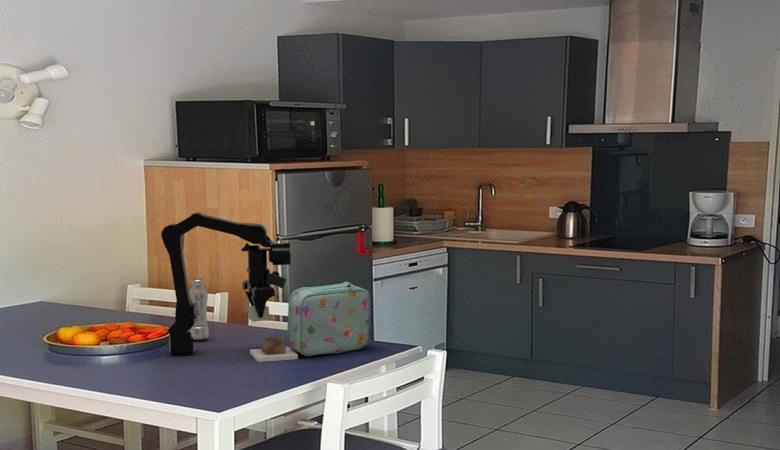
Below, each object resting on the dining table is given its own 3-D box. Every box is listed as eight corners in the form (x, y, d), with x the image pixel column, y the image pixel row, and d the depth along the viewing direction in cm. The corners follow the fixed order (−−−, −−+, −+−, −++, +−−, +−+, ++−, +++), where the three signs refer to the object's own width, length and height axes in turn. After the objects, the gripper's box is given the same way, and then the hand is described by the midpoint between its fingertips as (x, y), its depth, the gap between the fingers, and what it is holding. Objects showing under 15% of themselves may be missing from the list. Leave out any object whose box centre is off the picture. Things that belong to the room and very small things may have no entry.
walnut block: (265, 355, 274) (265, 341, 274) (261, 350, 280) (261, 337, 279) (285, 353, 276) (285, 340, 276) (281, 349, 282) (281, 336, 281)
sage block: (253, 321, 279) (252, 308, 278) (248, 318, 283) (248, 305, 283) (269, 320, 281) (268, 307, 280) (264, 317, 285) (264, 304, 285)
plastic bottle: (206, 342, 298) (205, 280, 296) (185, 342, 298) (184, 280, 296) (210, 338, 304) (210, 278, 302) (190, 337, 304) (189, 277, 303)
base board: (258, 362, 270) (258, 358, 270) (249, 353, 282) (249, 349, 282) (297, 359, 274) (297, 355, 274) (288, 350, 286) (288, 346, 286)
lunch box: (356, 343, 297) (356, 277, 295) (374, 349, 289) (375, 281, 287) (284, 354, 281) (283, 284, 280) (301, 360, 273) (301, 288, 271)
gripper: (291, 267, 275) (292, 319, 276) (276, 260, 292) (277, 309, 293) (254, 269, 271) (255, 322, 272) (241, 262, 288) (242, 311, 289)
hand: (258, 316), depth 282 cm, fingers closed on sage block, 5 cm apart
